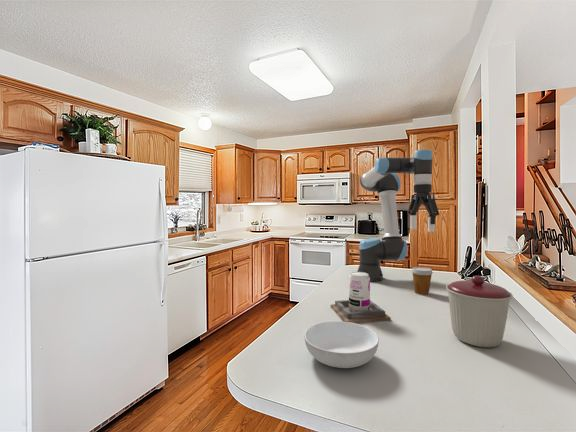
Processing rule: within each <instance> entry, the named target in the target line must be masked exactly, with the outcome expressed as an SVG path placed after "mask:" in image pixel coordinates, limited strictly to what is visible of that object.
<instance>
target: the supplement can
mask: <svg viewBox="0 0 576 432" xmlns="http://www.w3.org/2000/svg"><path fill="white" fill-rule="evenodd" d="M348 300H349V309H350V311H351V312H360V311H369V310H370V300H371V281H370V277H369V275H368V274H367V273H364V272H357V271H353V272H350V275H349V276H348Z"/></svg>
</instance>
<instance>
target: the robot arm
mask: <svg viewBox="0 0 576 432" xmlns="http://www.w3.org/2000/svg"><path fill="white" fill-rule="evenodd" d="M433 159H434V158H433V151H432V150H431V149H418V150H417V149H416V150H415V151H414V156H412V157H378V158H376V159H375V162H374V166H373V167H372V168H371V169H370V170H369V171H365V172H363V174H361V175H360V177H359V185H360V186H361V188H363V189H364V190H365V191H367V192H374V193H375V192H376V193H377V196H378V197H379V198H380V205H381V207H380V208H381V216H382V217H381V218H382V226H383V227H382V228H383V236H382V237H381V238H379V237H369V238H364V239H361V240H360V242H359V247H358V250H359V252H358V253H359V259H358V260H359V263H358V267H357V271H356V272H364V273H367V274H368V275H369V277H370V282H381V281H383V280H384V274H383V272H382V268H381V261H395V262H397V261H403V260H404V259H405V258H406V257H407V254H408V243H407V240H404V239H403V236H402V235H400V228H399V217H398V210H397V200H396V196H397V195H398V192H399V191H400V189H401V185H402V184H401V179H400V176H399V175H398V174H408V175H413V184H414V185H413V192H414V193H415V194H412V195H411V200H410V203H409V207H408V210H407V214H408V215H409V216H410V219H409V220H410V230H417V229H418V228H417V224H418V223H417V221H418V220H417V219H418V218H417V217H418V216H417V213H418V210H419V208H420V207H421V206H422V205H423V206H424V207H425V210H426V212H427V214H428V218H427V232H429V233H430V232H431V233H432V232H433V233H434V232H436V228H435V227H436V217H437V216H439V215H440V212H439V209H438V205H437V202H436V199H435V194H433V193H432V187H433V185H432V181H433V179H432V178H433V175H432V174H433ZM431 193H432V194H431Z"/></svg>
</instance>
